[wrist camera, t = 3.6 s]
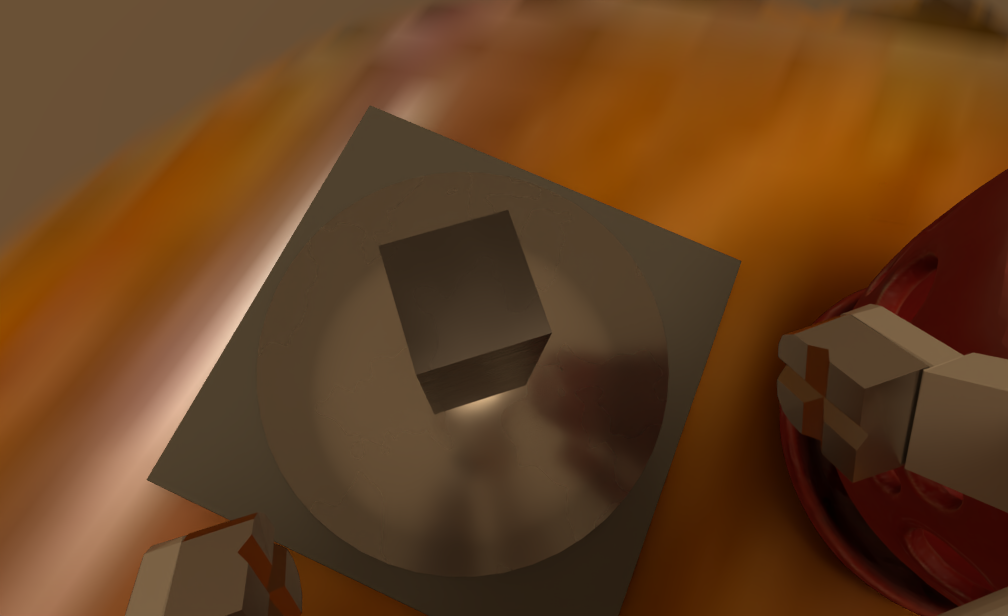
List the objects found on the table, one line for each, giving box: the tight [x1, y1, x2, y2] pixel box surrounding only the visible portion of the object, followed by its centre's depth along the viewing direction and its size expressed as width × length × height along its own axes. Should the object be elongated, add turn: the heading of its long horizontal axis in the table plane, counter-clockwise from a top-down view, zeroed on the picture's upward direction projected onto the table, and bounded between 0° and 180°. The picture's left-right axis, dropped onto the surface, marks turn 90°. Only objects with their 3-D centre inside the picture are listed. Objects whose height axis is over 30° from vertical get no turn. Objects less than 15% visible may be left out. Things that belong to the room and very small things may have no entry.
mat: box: [147, 106, 741, 616], centre depth 23 cm, size 16×16×1 cm
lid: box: [257, 172, 669, 577], centre depth 18 cm, size 14×14×8 cm
